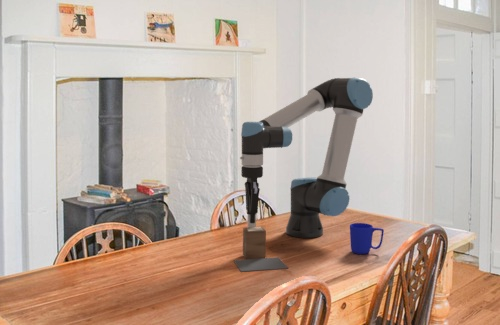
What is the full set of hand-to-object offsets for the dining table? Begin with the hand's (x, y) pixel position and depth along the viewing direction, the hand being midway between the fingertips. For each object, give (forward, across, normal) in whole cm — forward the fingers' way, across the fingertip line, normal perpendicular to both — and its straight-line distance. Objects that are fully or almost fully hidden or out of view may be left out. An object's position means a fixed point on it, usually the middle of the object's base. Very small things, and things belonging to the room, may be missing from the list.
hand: (251, 231), depth 205 cm
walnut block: (+8, +3, 0) cm, 9 cm away
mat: (+9, +12, 0) cm, 15 cm away
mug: (+9, +6, +41) cm, 43 cm away
